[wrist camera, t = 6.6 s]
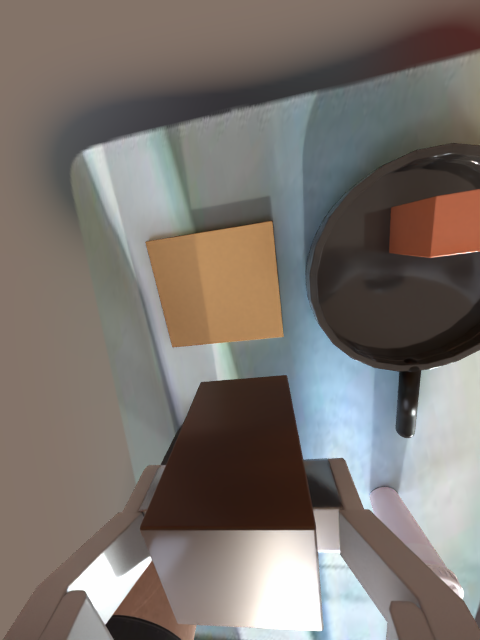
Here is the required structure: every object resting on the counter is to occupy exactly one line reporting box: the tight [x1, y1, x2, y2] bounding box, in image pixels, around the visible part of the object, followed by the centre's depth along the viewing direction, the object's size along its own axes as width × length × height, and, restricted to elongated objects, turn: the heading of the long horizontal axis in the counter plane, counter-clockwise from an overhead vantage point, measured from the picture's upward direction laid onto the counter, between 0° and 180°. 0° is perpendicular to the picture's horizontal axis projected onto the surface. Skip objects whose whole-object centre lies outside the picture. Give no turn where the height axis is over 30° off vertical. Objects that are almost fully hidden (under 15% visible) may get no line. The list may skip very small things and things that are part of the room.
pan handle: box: [396, 359, 421, 438], centre depth 26 cm, size 2×10×2 cm, turn 9°
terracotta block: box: [389, 189, 480, 258], centre depth 19 cm, size 4×4×6 cm
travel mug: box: [105, 425, 196, 640], centre depth 23 cm, size 8×8×20 cm
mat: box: [146, 221, 283, 347], centre depth 26 cm, size 13×12×1 cm
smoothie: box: [370, 487, 464, 599], centre depth 26 cm, size 6×6×14 cm
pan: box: [306, 143, 480, 372], centre depth 22 cm, size 19×19×2 cm
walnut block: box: [140, 375, 323, 631], centre depth 9 cm, size 4×4×6 cm
